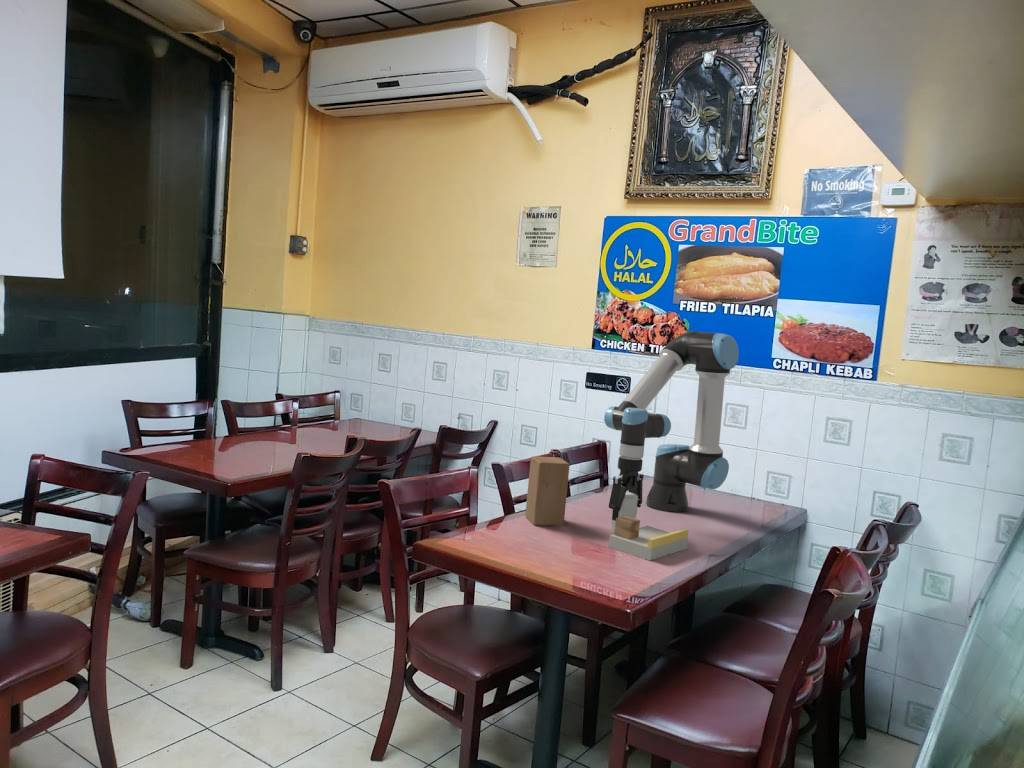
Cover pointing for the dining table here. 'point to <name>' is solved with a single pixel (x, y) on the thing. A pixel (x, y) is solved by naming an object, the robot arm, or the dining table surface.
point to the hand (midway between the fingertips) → (623, 528)
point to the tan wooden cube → (627, 527)
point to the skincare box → (629, 505)
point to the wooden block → (547, 491)
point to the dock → (651, 543)
